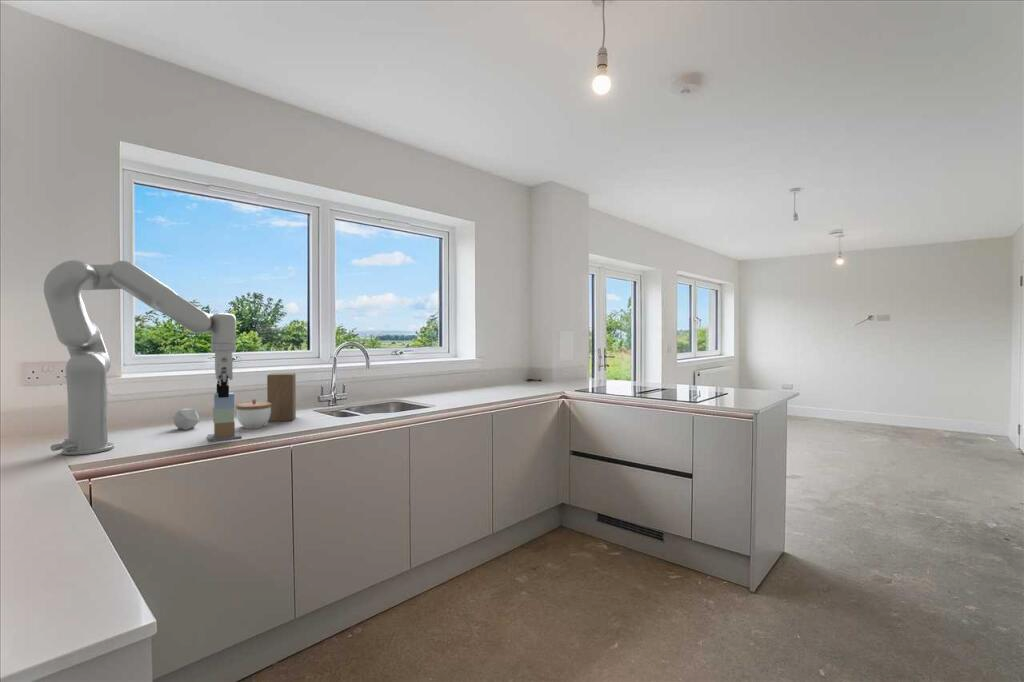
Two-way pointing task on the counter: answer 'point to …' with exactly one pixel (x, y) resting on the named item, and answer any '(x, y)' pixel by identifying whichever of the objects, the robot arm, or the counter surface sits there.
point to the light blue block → (224, 401)
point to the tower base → (237, 436)
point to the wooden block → (281, 396)
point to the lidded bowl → (253, 414)
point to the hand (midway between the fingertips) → (222, 395)
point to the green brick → (223, 415)
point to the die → (186, 419)
